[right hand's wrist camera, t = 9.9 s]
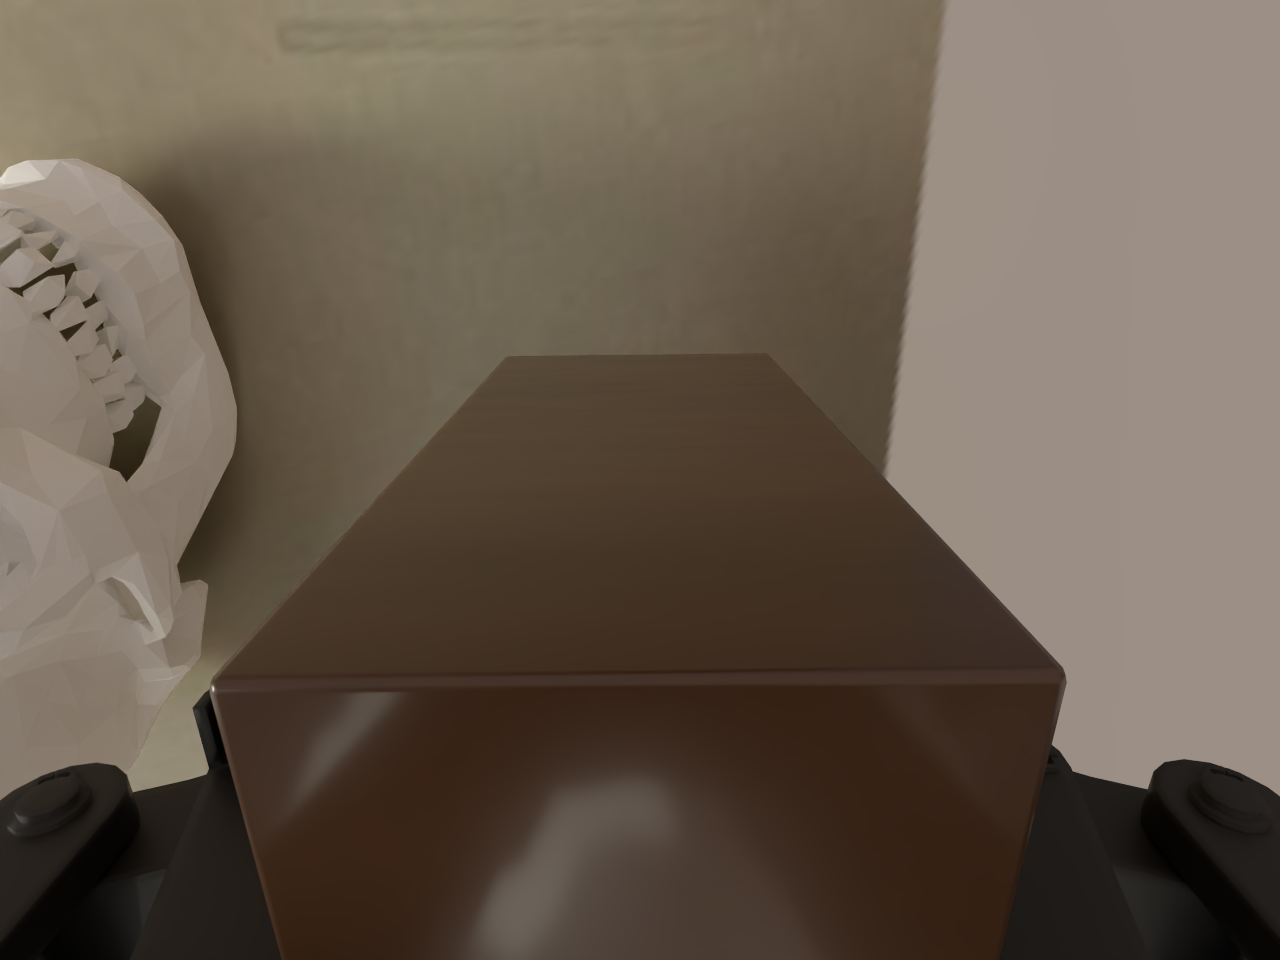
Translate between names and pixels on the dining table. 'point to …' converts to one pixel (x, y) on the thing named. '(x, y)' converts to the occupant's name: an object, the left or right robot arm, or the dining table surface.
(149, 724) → the skull
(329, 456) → the dining table surface
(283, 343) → the dining table surface
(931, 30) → the dining table surface
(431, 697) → the walnut beam
